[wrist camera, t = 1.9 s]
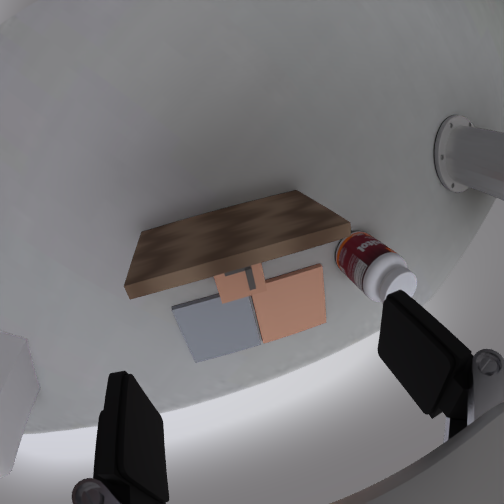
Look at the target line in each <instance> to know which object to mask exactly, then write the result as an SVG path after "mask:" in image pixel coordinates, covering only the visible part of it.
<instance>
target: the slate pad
mask: <svg viewBox="0 0 504 504" xmlns="http://www.w3.org/2000/svg"><path fill="white" fill-rule="evenodd" d="M172 312H173V314H174V316H175V319H176V321H177V323H178V326H179V328H180V330H181V332H182V335H183V337H184V339H185V341H186V343H187V346H188V348H189V350H190V352H191V354H192V356H193V358H194V361H195V363H197V362H200V361H204V360H208V359H212V358H216V357H219V356H223V355H227V354H230V353H234V352H237V351H241V350H244V349H248V348H251V347H254V346H258V345H261V343H260V339H259V335H258V331H257V327H256V323H255V319H254V315H253V311H252V307H251V303H250V299H249V296H248V297H244V298H241V299H238V300H234V301H231V302H227V303H224V304H222V301H221V298H220V295H219V294H216V295H212V296H209V297H205V298H202V299H198V300H194V301H191V302H187V303H183V304H180V305H176V306H172Z"/></svg>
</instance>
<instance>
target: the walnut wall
mask: <svg viewBox="0 0 504 504" xmlns="http://www.w3.org/2000/svg"><path fill="white" fill-rule="evenodd" d="M350 236H351V225H350V222H349V221H347V220H346V219H344V218H342V217H341V216H339V215H338V214H336V213H334V212H333V211H331V210H329V209H328V208H326V207H324V206H323V205H321V204H319V203H318V202H316V201H314V200H313V199H311V198H309V197H308V196H306V195H304V194H302V193H301V192H299V191H297V190H295V191H290V192H286V193H282V194H278V195H274V196H270V197H266V198H262V199H258V200H254V201H250V202H246V203H242V204H238V205H234V206H231V207H227V208H223V209H219V210H216V211H212V212H208V213H205V214H201V215H198V216H194V217H190V218H187V219H183V220H180V221H177V222H173V223H170V224H166V225H163V226H160V227H156V228H153V229H150V230H146V231H143V232H141V235H140V238H139V241H138V244H137V247H136V250H135V253H134V256H133V259H132V262H131V265H130V268H129V271H128V274H127V278H126V281H125V284H124V288H125V290H126V292H127V294H128V296H129V299H134V298H137V297H141V296H145V295H148V294H152V293H155V292H159V291H163V290H166V289H170V288H173V287H177V286H181V285H184V284H188V283H191V282H195V281H199V280H202V279H206V278H209V277H213V276H216V275H220V274H223V273H227V272H230V271H234V270H237V269H241V268H244V267H248V266H251V265H255V264H258V263H262V262H265V261H269V260H272V259H275V258H279V257H282V256H286V255H289V254H293V253H296V252H299V251H303V250H306V249H310V248H313V247H316V246H320V245H323V244H326V243H330V242H333V241H337V240H340V239H343V238H347V237H350Z"/></svg>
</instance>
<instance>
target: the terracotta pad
mask: <svg viewBox="0 0 504 504" xmlns="http://www.w3.org/2000/svg"><path fill="white" fill-rule="evenodd" d="M265 283H266V288H267V291H264V292H261V293H258V294H254V295H251V296H252V300H253V304H254V308H255V313H256V317H257V321H258V325H259V329H260V333H261V337H262V341H263V343H267V342H270V341H274V340H277V339H280V338H283V337H286V336H289V335H292V334H295V333H298V332H301V331H304V330H307V329H309V328H312V327H315V326H318V325H321V324H323V323H326V309H325V294H324V281H323V269H322V265H321V264H316V265H313V266H310V267H307V268H304V269H300V270H297V271H294V272H291V273H287V274H284V275H281V276H277V277H274V278H271V279H267V280H265Z"/></svg>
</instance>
